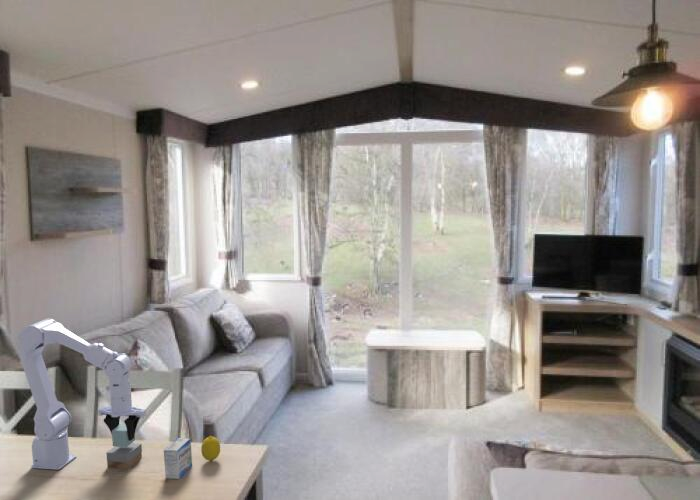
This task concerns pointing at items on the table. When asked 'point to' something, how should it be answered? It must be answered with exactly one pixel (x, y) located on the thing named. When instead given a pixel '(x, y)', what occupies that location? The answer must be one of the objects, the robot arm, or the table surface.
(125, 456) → the gray block
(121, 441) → the teal block
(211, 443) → the lemon
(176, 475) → the medicine box
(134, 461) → the walnut block
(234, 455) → the table surface
